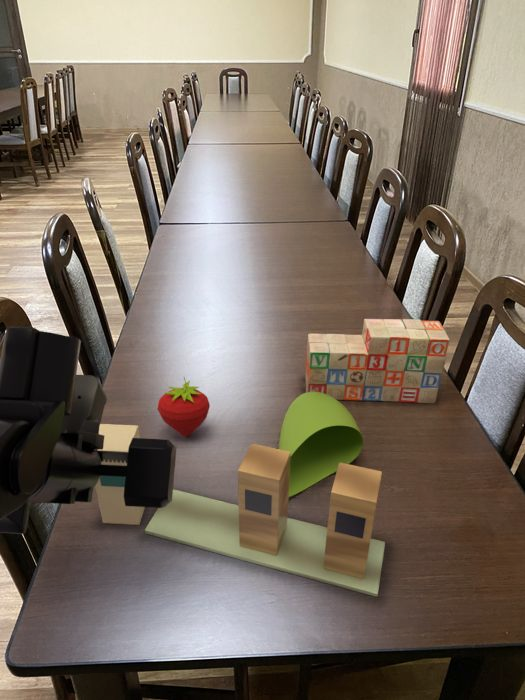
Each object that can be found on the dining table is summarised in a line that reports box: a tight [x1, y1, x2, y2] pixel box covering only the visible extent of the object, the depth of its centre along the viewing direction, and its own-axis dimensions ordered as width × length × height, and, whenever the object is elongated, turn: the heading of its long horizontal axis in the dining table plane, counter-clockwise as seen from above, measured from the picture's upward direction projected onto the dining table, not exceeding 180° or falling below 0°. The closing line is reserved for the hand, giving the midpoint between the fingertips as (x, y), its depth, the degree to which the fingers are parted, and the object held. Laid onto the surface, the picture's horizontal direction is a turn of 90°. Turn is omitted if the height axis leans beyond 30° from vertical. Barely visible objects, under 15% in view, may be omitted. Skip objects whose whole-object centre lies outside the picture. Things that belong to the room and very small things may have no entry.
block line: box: [144, 443, 386, 598], centre depth 61 cm, size 7×28×13 cm, turn 73°
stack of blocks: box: [304, 318, 450, 404], centre depth 88 cm, size 21×6×12 cm, turn 88°
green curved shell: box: [278, 392, 364, 498], centre depth 76 cm, size 8×12×20 cm
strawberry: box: [157, 376, 211, 437], centre depth 78 cm, size 6×8×10 cm
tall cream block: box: [94, 423, 146, 526], centre depth 65 cm, size 5×5×12 cm
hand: (103, 470), depth 59 cm, fingers open, 9 cm apart
